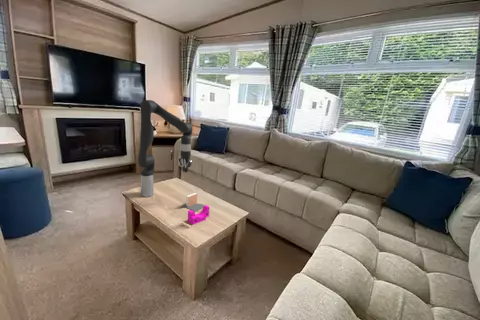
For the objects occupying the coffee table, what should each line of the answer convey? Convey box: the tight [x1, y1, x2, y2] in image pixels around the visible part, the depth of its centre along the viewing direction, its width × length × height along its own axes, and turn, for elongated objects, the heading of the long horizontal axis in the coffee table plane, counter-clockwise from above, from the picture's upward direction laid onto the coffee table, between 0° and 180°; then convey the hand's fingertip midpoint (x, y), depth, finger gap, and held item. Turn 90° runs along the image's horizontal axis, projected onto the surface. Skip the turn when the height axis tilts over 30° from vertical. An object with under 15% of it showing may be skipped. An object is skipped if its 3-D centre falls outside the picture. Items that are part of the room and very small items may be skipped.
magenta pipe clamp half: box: [187, 204, 210, 225], centre depth 147 cm, size 15×6×8 cm, turn 136°
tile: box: [185, 192, 198, 207], centre depth 167 cm, size 2×9×8 cm, turn 147°
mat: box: [182, 203, 206, 213], centre depth 166 cm, size 14×12×1 cm
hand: (185, 171), depth 166 cm, fingers closed
